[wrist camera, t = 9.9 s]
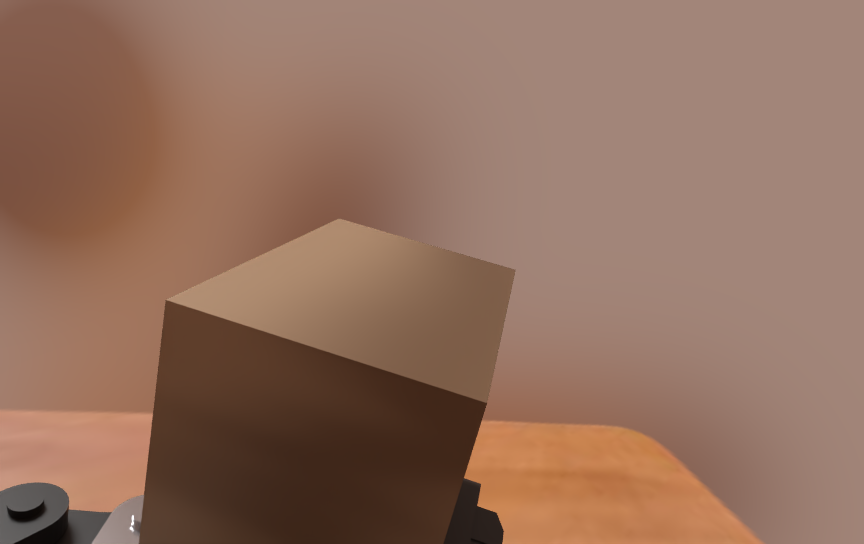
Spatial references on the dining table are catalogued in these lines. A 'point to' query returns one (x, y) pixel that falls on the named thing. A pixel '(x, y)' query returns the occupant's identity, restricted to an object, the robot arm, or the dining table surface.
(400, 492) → the walnut block
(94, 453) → the dining table surface
